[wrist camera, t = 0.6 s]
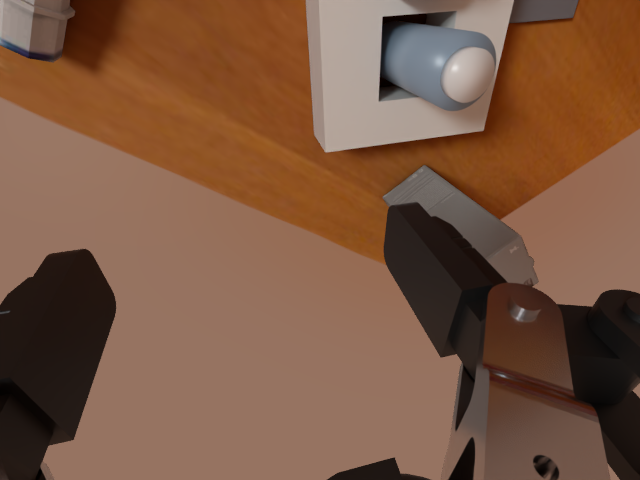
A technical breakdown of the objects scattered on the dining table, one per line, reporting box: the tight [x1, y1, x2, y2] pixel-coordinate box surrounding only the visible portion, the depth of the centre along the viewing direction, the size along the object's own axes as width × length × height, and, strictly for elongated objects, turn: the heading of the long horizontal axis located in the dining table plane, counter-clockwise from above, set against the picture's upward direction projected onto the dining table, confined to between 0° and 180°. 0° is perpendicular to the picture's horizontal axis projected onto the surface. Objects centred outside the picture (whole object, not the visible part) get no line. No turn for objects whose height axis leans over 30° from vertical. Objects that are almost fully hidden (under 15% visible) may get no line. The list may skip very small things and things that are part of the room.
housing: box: [306, 0, 514, 152], centre depth 27 cm, size 20×16×7 cm
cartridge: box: [380, 21, 496, 111], centre depth 27 cm, size 5×5×13 cm
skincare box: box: [383, 165, 538, 287], centre depth 37 cm, size 8×7×16 cm
